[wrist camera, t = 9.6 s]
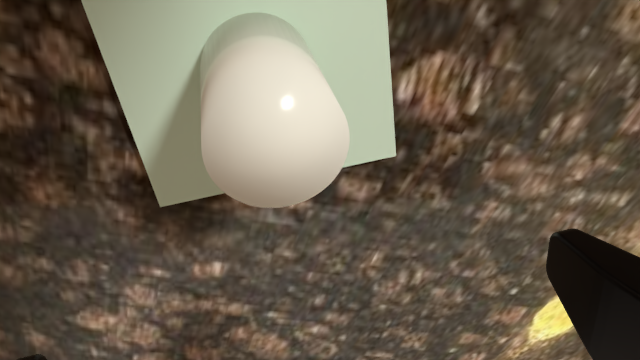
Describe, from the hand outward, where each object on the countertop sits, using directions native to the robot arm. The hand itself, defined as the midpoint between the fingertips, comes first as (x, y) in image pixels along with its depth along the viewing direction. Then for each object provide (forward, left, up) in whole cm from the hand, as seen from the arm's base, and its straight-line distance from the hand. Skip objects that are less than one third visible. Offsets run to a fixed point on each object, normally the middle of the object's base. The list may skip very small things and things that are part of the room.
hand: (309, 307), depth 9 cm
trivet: (0, 0, -12) cm, 12 cm away
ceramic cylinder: (0, 0, -12) cm, 12 cm away
